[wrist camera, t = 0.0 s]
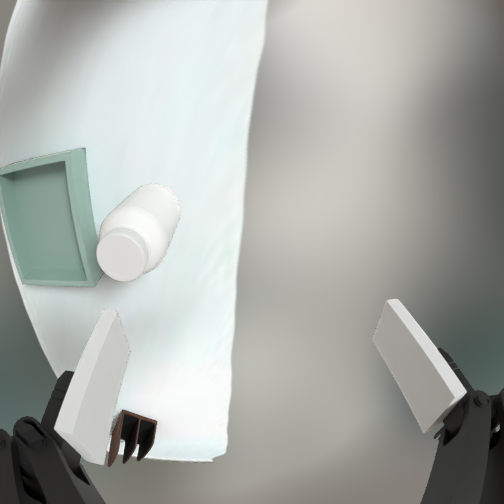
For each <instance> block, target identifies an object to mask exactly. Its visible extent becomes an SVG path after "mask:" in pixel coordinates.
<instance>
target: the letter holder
mask: <svg viewBox="0 0 504 504" xmlns="http://www.w3.org/2000/svg"><path fill="white" fill-rule="evenodd" d="M156 426H157V421H156V420H152V419H149V418H146V417H143V416H140V415H137V414H134V413H132V412H129V411H126V410H122V413H121V415H120V417H119V419H118V422H117V424H116V426H115V428H114V431H113V433H112V438H111V444H110V451H109V458H108V467H110V466H111V465H112V464H113V462H114V460H115V458H116V456H117V454H118V451H119V446H120V439H123V440H125V449H124V455H123V464H125V463H126V462H127V461H128V460H129V459H130V457H131V456H132V454H133V453H134V451H135V449H136V446H137V444H139V451H138V456H137V461H140V460H141V459H143V458H144V457H145V456H146V454H147V453H148V452H149V451H150V449H151V448H152V446H153V444H154V439H155V433H156Z"/></svg>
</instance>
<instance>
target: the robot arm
mask: <svg viewBox="0 0 504 504" xmlns="http://www.w3.org/2000/svg"><path fill="white" fill-rule="evenodd" d="M372 340H373V342H374V343H375V345H376V347H377V349H378V350H379V352H380V354H381V356H382V357H383V359H384V361H385V362H386V364H387V366H388V368H389V370H390V371H391V373H392V375H393V377H394V379H395V380H396V382H397V384H398V386H399V388H400V389H401V391H402V393H403V395H404V397H405V399H406V401H407V402H408V404H409V406H410V408H411V410H412V412H413V414H414V416H415V418H416V420H417V422H418V424H419V426H420V428H421V429H422V432H423V433H426V432H428V431H431V430H433V429H435V428H436V427H437V426H438V425H439V424H440V423H441V422H442V421H443V423H444V426H443V427H442V428H441V429H440V430H439V431H438V432H437V433H436V434H435V436H434V439H435V438H437V437H438V436H439V434H441V435H440V437H439V438H438V440H439V444H438V448H437V452H436V456H435V460H434V464H433V467H432V471H431V474H430V477H429V481H428V484H427V487H426V490H425V493H424V495H423V498H422V501H421V504H504V388H503V389H502V390H501V392H500V393H499V394H498V395H491V396H488V395H487V394H486V393H485V392H483V391H480V390H476V391H475V390H474V389H473V388H472V387H471V385H470V384H469V382H468V381H467V379H466V378H465V377H464V375H463V374H462V372H461V371H460V369H458V367H457V365H456V364H455V363H454V362H453V360H452V358H451V357H450V356H449V354H448V353H446V352H445V351H444V350H443V349H441V348H438V349H437V348H436V347H435V346H434V344H433V343H432V342H431V340H430V339H429V338H428V336H427V335H426V334H425V332H424V331H423V330H422V329H421V327H420V326H419V325H418V323H417V322H416V321H415V320H414V319H413V317H412V316H411V315H410V313H409V312H408V311H407V310H406V308H405V307H404V306H403V305H402V303H401V302H400V301H399V300H398V299H392V300H386V302H385V305H384V308H383V311H382V314H381V317H380V320H379V323H378V325H377V328H376V331H375V334H374V336H373V339H372ZM130 352H131V351H130V348H129V345H128V342H127V339H126V336H125V333H124V330H123V327H122V324H121V320H120V317H119V314H118V310H103V311H102V313H101V315H100V317H99V319H98V321H97V323H96V325H95V328H94V330H93V332H92V334H91V336H90V338H89V340H88V343H87V345H86V347H85V349H84V351H83V354H82V356H81V358H80V361H79V363H78V365H77V368H76V370H75V372H71V371H65V372H64V373H63V374H62V375H61V376H60V377H59V378H58V381H57V383H56V385H55V388H54V391H53V392H52V395H51V398H50V400H49V402H48V405H47V408H46V410H45V413H44V416H43V418H42V421H41V424H40V423H39V422H38V421H37V420H36V419H34V418H33V417H29V416H26V417H22V418H21V419H19V420H18V421H17V422H16V423H15V425H14V428H13V436H10V435H9V434H8V433H7V432H6V431H4V430H3V429H0V504H106V503H105V502H104V500H103V499H102V497H101V496H100V494H99V493H98V491H97V489H96V488H95V486H94V485H93V483H92V481H91V480H90V478H89V477H88V475H87V473H86V471H85V469H84V468H83V466H82V464H81V463H80V458H81V456H82V457H83V458H84V459H85V460H86V461H88V462H92V463H96V464H101V465H104V461H105V455H106V450H107V445H108V440H109V435H110V430H111V426H112V421H113V417H114V412H115V408H116V404H117V400H118V396H119V392H120V388H121V384H122V380H123V377H124V373H125V369H126V366H127V362H128V359H129V355H130ZM499 424H500V430H499V431H498V432H496V429H495V428H496V427H497V426H498V425H499Z"/></svg>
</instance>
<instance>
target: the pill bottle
mask: <svg viewBox="0 0 504 504" xmlns="http://www.w3.org/2000/svg"><path fill="white" fill-rule="evenodd" d="M179 219H180V204H179V201H178V199H177V197H176V196H175V194H174V193H173V192H172V191H171V190H170V189H168V188H167V187H165V186H163V185H160V184H146V185H143V186H141V187H139V188H137V189H136V190H135V191H134V192H132V193H131V194H130V195H129V196H128V197H127V198H126V199H125V200H123V201H122V202H121V203H120V204H119V205H118V206H117V207H116V208H115V209H114V210H113V211H112V212H110V213H109V214H108V216H107V217H106V218H105V219H104V221H103V223H102V225H101V229H100V234H99V243H98V245H97V250H96V256H97V261H98V263H99V266H100V267H101V269H102V270H103V271H104V273H105V274H107V275H108V276H109V277H111V278H112V279H114V280H117V281H121V282H129V281H133V280H135V279H137V278H139V277H140V276H141V274H145V273H148V272H150V271H152V270H153V269H155V268H156V267H157V266H158V265H159V264H160V263H161V262H162V260H163V259H164V257H165V255H166V252H167V250H168V247H169V244H170V242H171V239H172V237H173V234H174V232H175V230H176V227H177V225H178V222H179Z"/></svg>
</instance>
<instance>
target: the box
mask: <svg viewBox="0 0 504 504" xmlns="http://www.w3.org/2000/svg"><path fill="white" fill-rule="evenodd" d="M0 206H1V211H2V216H3V220H4V225H5V229H6V233H7V237H8V241H9V244H10V248H11V251H12V255H13V258H14V261H15V264H16V267H17V270H18V273H19V276H20V279H21V282H22V284H29V285H51V286H81V287H95V286H96V284H97V282H98V281H99V279H100V278H101V276H102V275H103V273H104V271H103V270H102V269H101V267H100V266H99V263H98V261H97V256H96V250H97V245H98V241H97V236H96V230H95V225H94V219H93V213H92V206H91V199H90V191H89V183H88V174H87V163H86V150H85V148H81V149H75V150H70V151H64V152H59V153H55V154H50V155H45V156H41V157H37V158H32V159H28V160H24V161H21V162H17V163H13V164H10V165H7V166H4V167H2V168H0Z"/></svg>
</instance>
